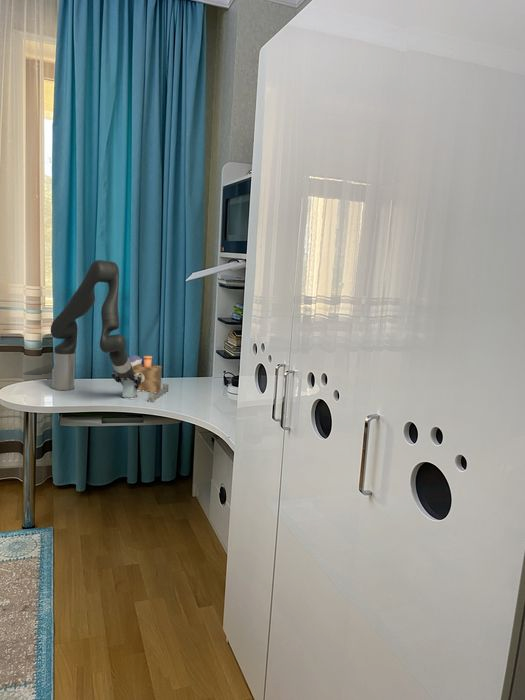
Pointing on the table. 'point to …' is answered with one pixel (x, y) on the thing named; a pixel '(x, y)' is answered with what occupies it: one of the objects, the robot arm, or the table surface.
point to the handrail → (158, 393)
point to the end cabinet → (149, 377)
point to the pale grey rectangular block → (129, 389)
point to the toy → (135, 360)
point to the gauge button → (147, 361)
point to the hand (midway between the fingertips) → (131, 386)
